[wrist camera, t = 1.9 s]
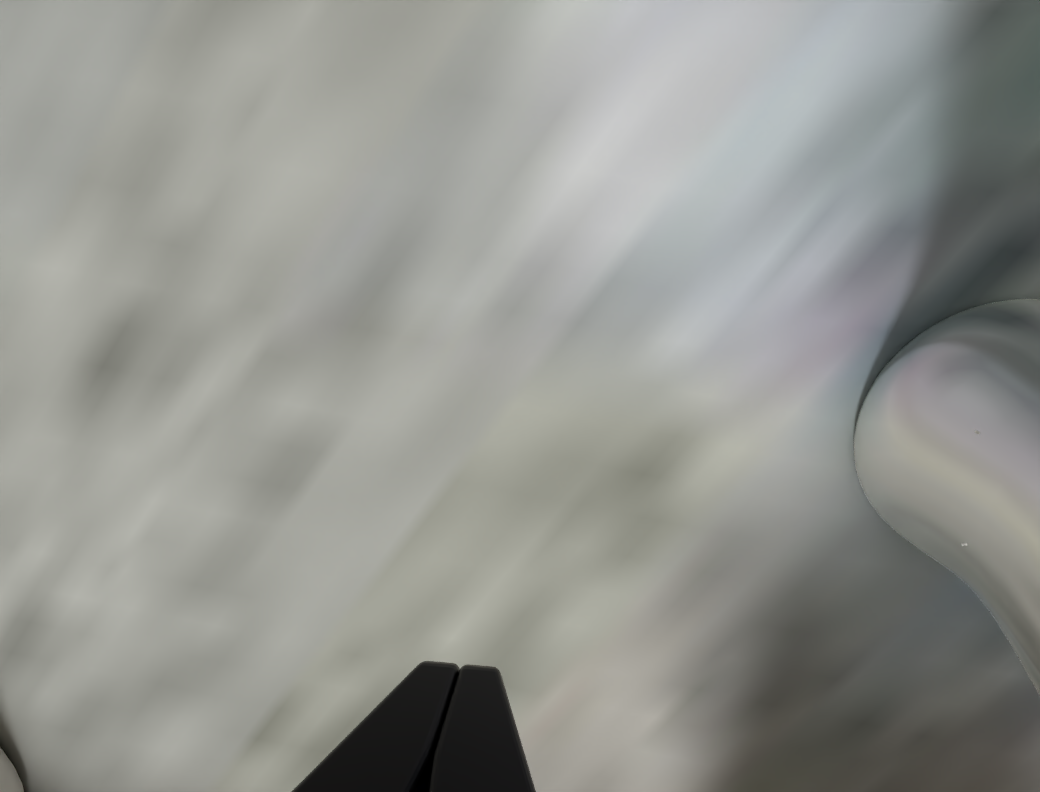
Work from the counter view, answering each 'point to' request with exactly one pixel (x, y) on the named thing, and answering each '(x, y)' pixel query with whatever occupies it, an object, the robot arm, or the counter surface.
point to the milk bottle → (8, 775)
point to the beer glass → (966, 457)
